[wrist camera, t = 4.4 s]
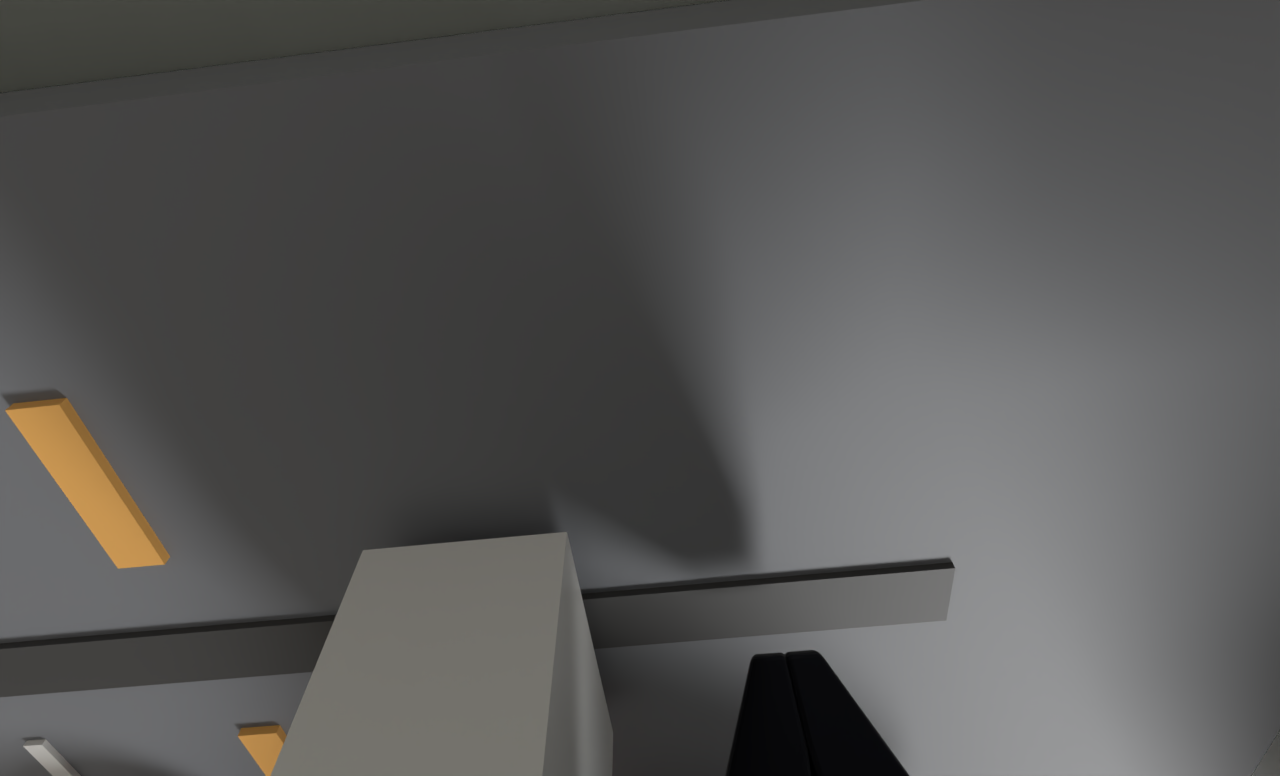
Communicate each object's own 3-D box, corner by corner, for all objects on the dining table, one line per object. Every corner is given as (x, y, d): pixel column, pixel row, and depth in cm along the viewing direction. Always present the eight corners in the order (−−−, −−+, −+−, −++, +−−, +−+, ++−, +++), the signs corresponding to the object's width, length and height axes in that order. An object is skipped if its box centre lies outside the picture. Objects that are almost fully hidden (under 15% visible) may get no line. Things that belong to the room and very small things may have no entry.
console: (1587, -110, 7) (2354, -113, 4) (1140, 803, 16) (1263, 1023, 13) (-587, 167, 8) (-1335, 335, 5) (134, 871, 17) (24, 1087, 14)
